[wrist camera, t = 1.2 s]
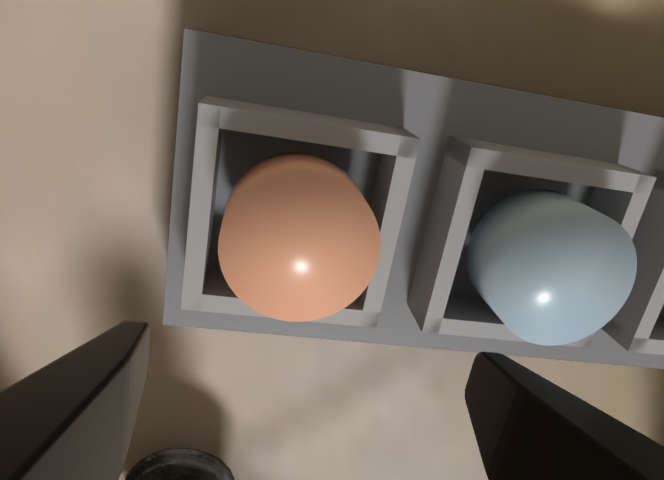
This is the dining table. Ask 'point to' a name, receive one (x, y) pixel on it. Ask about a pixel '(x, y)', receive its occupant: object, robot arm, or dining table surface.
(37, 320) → the dining table surface
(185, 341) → the dining table surface
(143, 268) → the dining table surface
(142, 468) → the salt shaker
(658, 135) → the button panel
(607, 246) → the slate button
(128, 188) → the dining table surface
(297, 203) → the terracotta button
